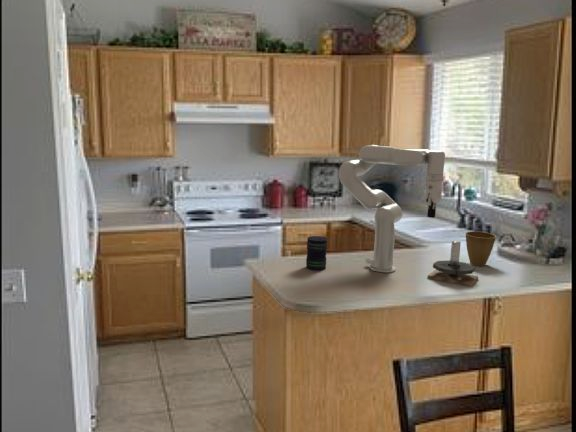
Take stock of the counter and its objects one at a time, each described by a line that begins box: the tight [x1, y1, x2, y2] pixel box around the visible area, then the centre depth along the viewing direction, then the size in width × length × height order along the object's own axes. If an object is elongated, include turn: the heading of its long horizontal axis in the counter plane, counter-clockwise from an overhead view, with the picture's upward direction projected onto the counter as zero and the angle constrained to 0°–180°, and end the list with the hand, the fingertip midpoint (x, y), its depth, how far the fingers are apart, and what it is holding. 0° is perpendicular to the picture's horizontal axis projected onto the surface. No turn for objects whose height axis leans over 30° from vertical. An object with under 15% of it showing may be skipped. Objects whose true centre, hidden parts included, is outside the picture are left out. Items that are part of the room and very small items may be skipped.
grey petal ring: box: [432, 260, 476, 275], centre depth 265 cm, size 18×18×2 cm
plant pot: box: [465, 230, 497, 267], centre depth 294 cm, size 15×15×16 cm
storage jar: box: [305, 235, 328, 272], centre depth 275 cm, size 10×10×15 cm
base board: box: [426, 269, 479, 287], centre depth 266 cm, size 20×14×2 cm
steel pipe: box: [449, 240, 462, 277], centre depth 265 cm, size 4×4×16 cm
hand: (431, 217), depth 262 cm, fingers closed
